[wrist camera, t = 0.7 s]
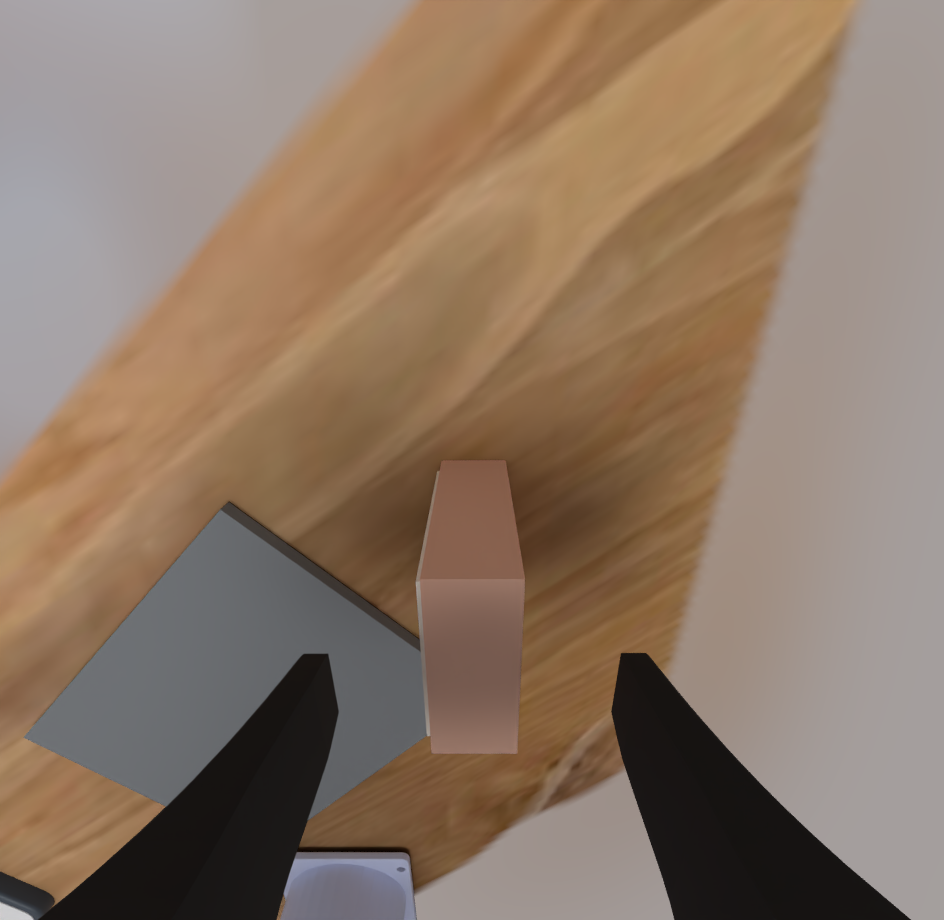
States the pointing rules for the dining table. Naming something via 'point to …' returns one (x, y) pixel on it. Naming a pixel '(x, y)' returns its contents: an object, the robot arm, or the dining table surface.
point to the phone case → (22, 900)
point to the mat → (236, 668)
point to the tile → (471, 611)
